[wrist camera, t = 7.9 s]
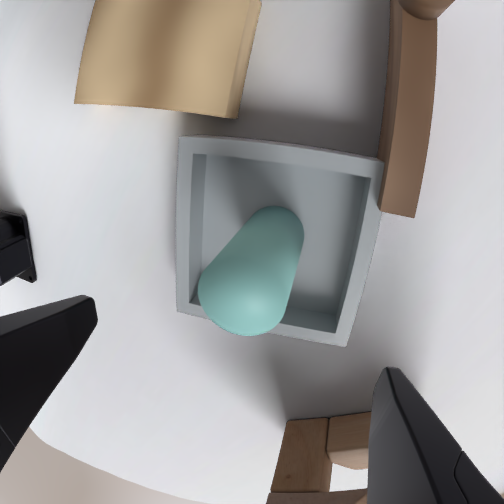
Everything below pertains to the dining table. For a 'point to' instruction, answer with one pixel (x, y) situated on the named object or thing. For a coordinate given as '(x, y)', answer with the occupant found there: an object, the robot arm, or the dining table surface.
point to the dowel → (253, 273)
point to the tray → (294, 199)
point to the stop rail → (408, 102)
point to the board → (168, 54)
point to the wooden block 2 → (320, 459)
